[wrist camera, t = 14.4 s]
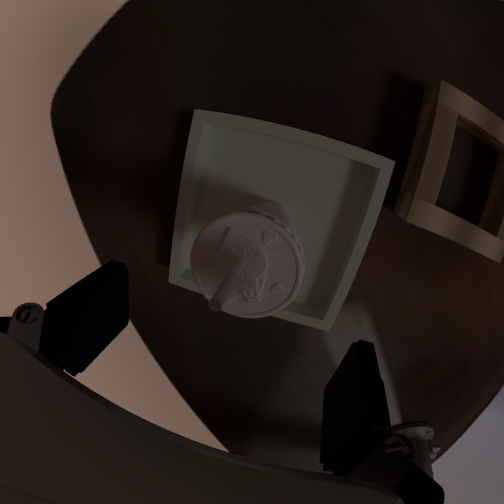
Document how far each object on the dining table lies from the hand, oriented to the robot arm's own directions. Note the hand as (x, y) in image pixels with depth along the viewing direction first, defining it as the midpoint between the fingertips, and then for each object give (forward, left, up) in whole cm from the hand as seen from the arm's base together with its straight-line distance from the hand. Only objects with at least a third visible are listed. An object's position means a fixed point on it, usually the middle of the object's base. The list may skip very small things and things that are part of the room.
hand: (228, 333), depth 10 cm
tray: (0, 0, -15) cm, 15 cm away
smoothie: (+1, 0, -15) cm, 15 cm away
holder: (-16, -10, -15) cm, 24 cm away
